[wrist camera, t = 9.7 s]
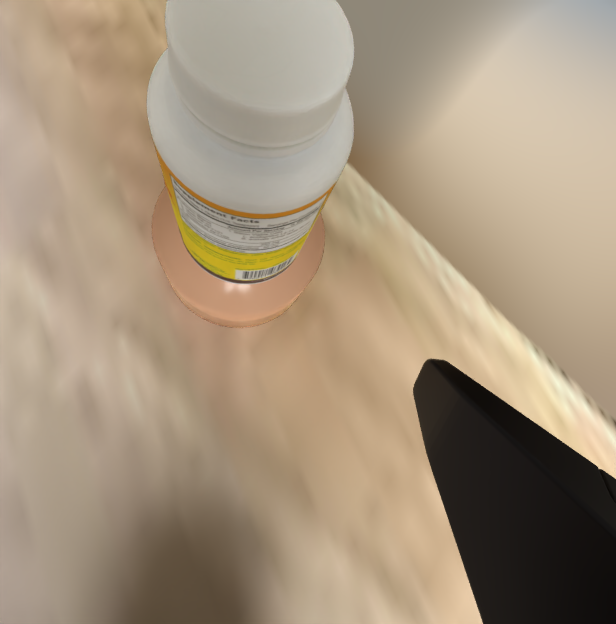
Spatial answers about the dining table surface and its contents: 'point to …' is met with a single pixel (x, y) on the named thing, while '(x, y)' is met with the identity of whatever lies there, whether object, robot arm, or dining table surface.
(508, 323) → the dining table surface
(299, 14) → the supplement bottle
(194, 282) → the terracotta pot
